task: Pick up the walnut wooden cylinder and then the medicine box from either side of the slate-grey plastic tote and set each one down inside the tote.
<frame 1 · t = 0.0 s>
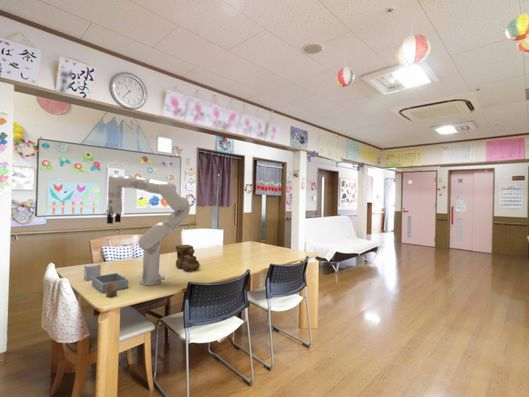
hand: (113, 222, 172), 37 cm above the table, tool pointing down, fingers open, 9 cm apart
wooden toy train: (186, 269, 209), on the table
tote: (109, 286, 163), on the table
walnut cylinder: (111, 295, 150), on the table
medicine box: (92, 279, 176), on the table
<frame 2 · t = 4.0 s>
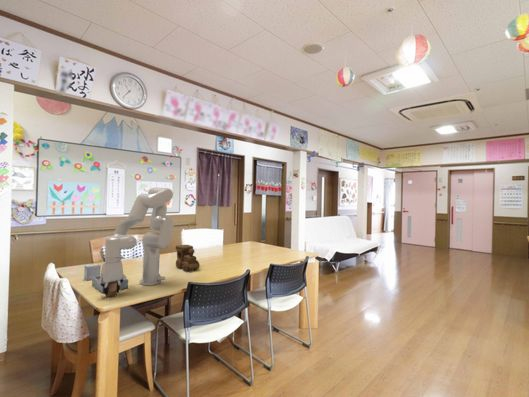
hand: (111, 292, 150), 1 cm above the table, tool pointing down, fingers closed on walnut cylinder, 5 cm apart
walnut cylinder: (111, 295, 150), on the table, touching gripper
everything else where it was.
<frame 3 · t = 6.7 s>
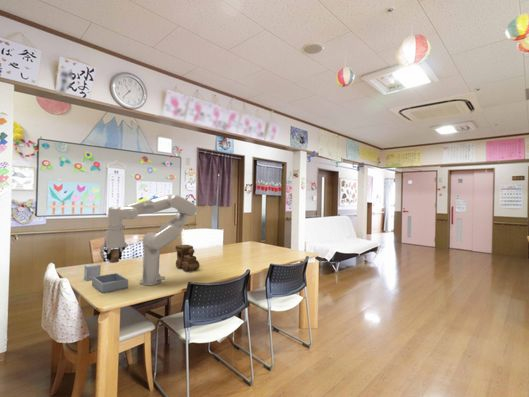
hand: (114, 259, 160), 17 cm above the table, tool pointing down, fingers closed on walnut cylinder, 5 cm apart
walnut cylinder: (114, 261, 160), point 16 cm above the table, touching gripper
everything else where it was.
when the fingers open (4 cm above the table, at t = 9.5 s): walnut cylinder drops 2 cm, resting on tote.
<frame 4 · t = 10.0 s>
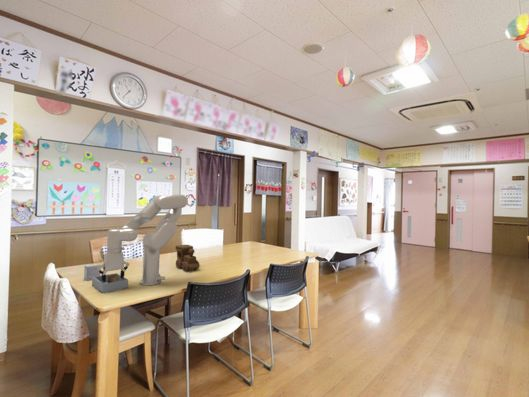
hand: (113, 279, 160), 5 cm above the table, tool pointing down, fingers open, 9 cm apart
walnut cylinder: (112, 287, 160), point 1 cm above the table, touching tote
everything else where it was.
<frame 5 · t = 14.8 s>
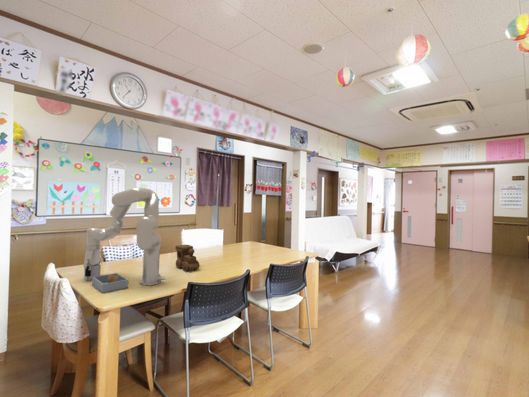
hand: (92, 274, 176), 3 cm above the table, tool pointing down, fingers closed on medicine box, 8 cm apart
medicine box: (92, 279, 176), on the table, touching gripper
everything else where it was.
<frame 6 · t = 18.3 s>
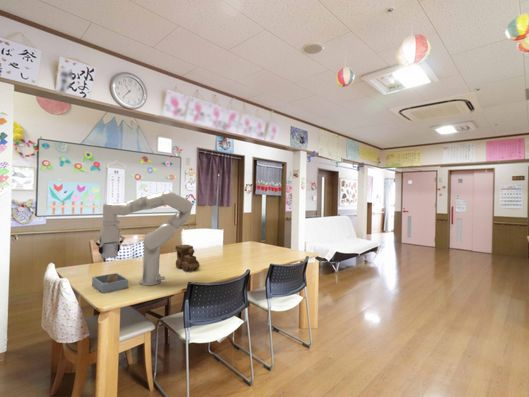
hand: (109, 252, 165), 20 cm above the table, tool pointing down, fingers closed on medicine box, 8 cm apart
medicine box: (109, 257, 165), point 17 cm above the table, touching gripper
everything else where it was.
when the fingers open (5 cm above the table, at t = 22.0 s): medicine box drops 1 cm, resting on tote.
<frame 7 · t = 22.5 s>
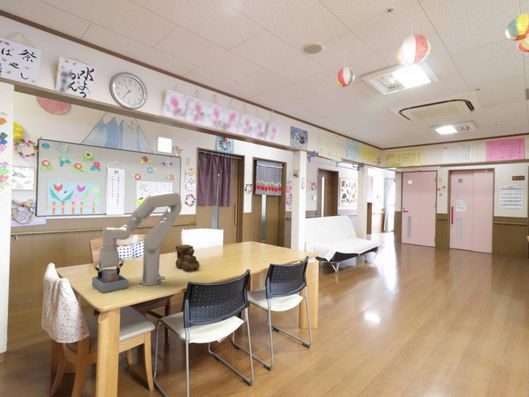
hand: (108, 276, 165), 5 cm above the table, tool pointing down, fingers open, 9 cm apart
medicine box: (108, 284, 165), resting on tote, touching gripper
everything else where it was.
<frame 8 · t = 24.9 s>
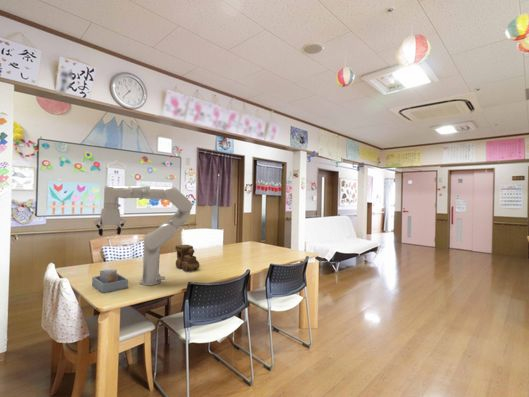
hand: (109, 234, 165), 30 cm above the table, tool pointing down, fingers open, 9 cm apart
medicine box: (108, 284, 165), resting on tote
everything else where it was.
at the end: walnut cylinder inside the target area on the tote (4.7 cm from its centre), point 0.8 cm above the tote's base; medicine box inside the target area on the tote (2.9 cm from its centre), point 0.4 cm above the tote's base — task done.
